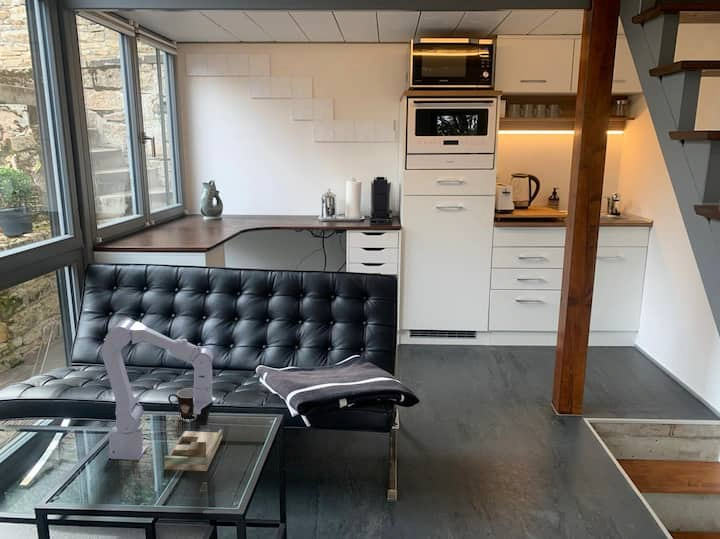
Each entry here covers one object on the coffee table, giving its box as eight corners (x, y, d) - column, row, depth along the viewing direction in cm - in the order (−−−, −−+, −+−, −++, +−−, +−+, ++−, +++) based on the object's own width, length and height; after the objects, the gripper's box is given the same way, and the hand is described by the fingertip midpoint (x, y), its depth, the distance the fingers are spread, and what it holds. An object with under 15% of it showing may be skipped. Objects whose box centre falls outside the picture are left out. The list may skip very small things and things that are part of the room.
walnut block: (187, 462, 168) (187, 449, 167) (191, 454, 172) (191, 441, 171) (202, 462, 168) (202, 449, 167) (206, 455, 172) (206, 442, 172)
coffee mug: (206, 417, 201) (206, 392, 199) (188, 426, 194) (187, 400, 192) (185, 408, 207) (185, 383, 205) (166, 416, 200) (166, 391, 198)
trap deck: (164, 469, 167) (164, 457, 166) (184, 436, 187) (184, 425, 186) (206, 470, 167) (206, 459, 167) (222, 438, 187) (222, 427, 186)
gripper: (209, 396, 166) (209, 436, 169) (221, 377, 181) (220, 414, 183) (186, 394, 166) (186, 435, 169) (199, 376, 180) (200, 413, 183)
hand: (203, 424), depth 176 cm, fingers closed
